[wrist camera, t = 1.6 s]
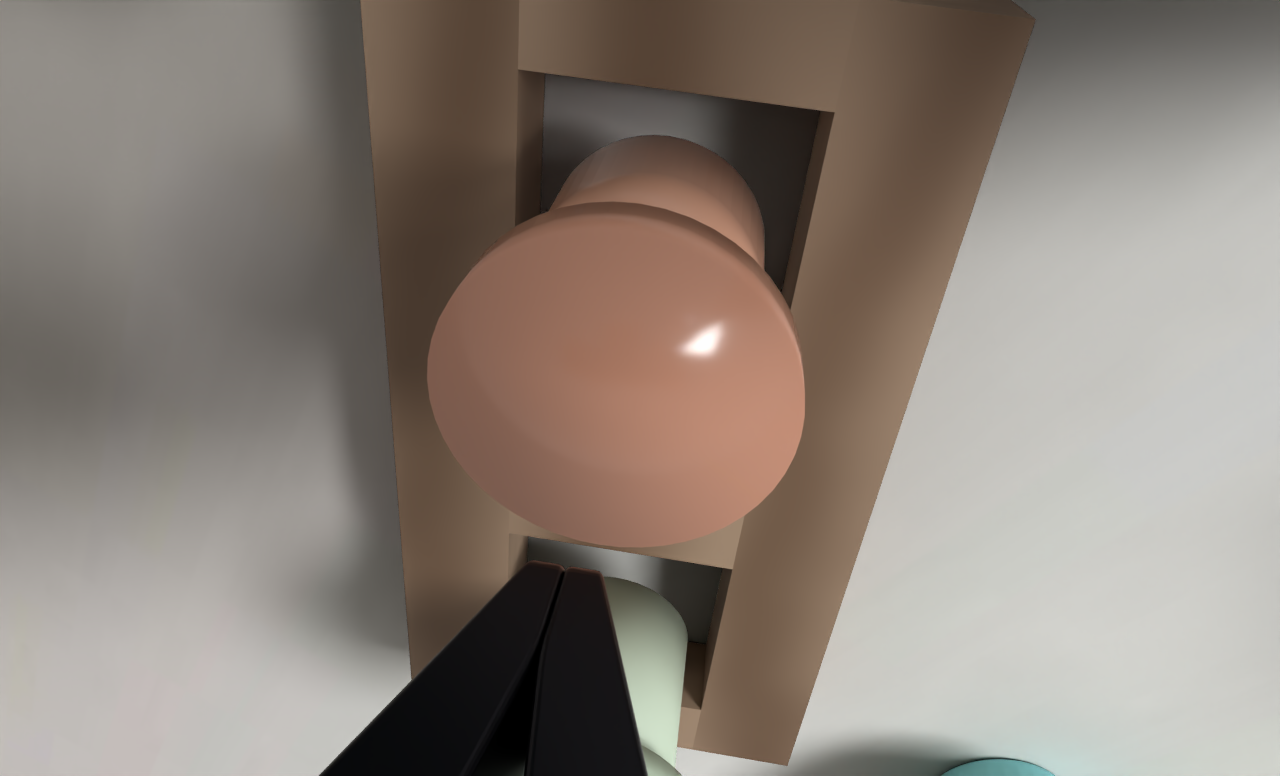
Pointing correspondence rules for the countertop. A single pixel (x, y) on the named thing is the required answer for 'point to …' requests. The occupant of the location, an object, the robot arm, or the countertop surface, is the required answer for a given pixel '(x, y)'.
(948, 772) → the cupcake
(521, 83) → the panel
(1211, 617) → the countertop surface
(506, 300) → the terracotta plunger
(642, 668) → the sage plunger
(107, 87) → the countertop surface
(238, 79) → the countertop surface
